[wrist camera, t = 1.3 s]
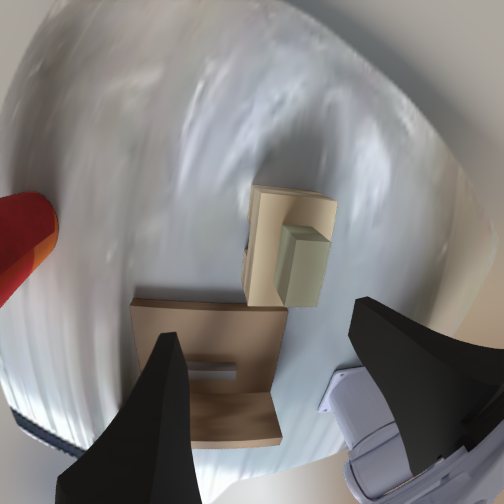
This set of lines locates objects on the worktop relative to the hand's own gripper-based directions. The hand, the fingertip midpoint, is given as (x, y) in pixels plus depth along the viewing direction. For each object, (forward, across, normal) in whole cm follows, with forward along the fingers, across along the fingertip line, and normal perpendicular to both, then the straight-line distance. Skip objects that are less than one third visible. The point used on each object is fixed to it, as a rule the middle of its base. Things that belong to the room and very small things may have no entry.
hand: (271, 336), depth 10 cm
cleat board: (+11, +4, +12) cm, 16 cm away
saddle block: (+11, -4, +1) cm, 12 cm away
